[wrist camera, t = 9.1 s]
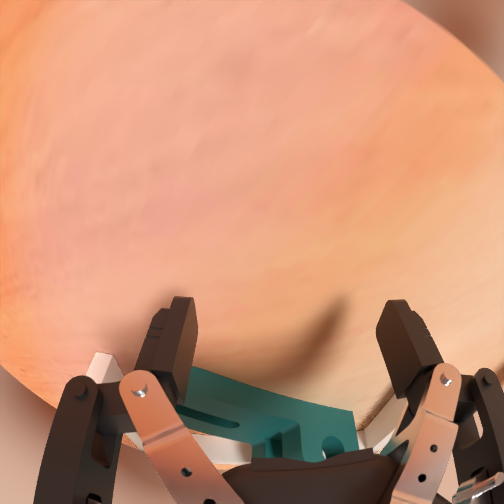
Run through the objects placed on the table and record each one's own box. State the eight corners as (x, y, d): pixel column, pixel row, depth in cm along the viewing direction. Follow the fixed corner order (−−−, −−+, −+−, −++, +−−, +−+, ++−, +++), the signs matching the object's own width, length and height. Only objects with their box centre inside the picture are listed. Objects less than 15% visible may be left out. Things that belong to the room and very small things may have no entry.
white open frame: (434, 356, 18) (446, 385, 15) (370, 432, 26) (374, 453, 23) (96, 351, 18) (82, 383, 15) (148, 430, 26) (143, 452, 23)
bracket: (352, 409, 22) (364, 483, 15) (305, 434, 25) (310, 498, 18) (163, 350, 17) (135, 458, 10) (139, 386, 20) (117, 468, 14)
